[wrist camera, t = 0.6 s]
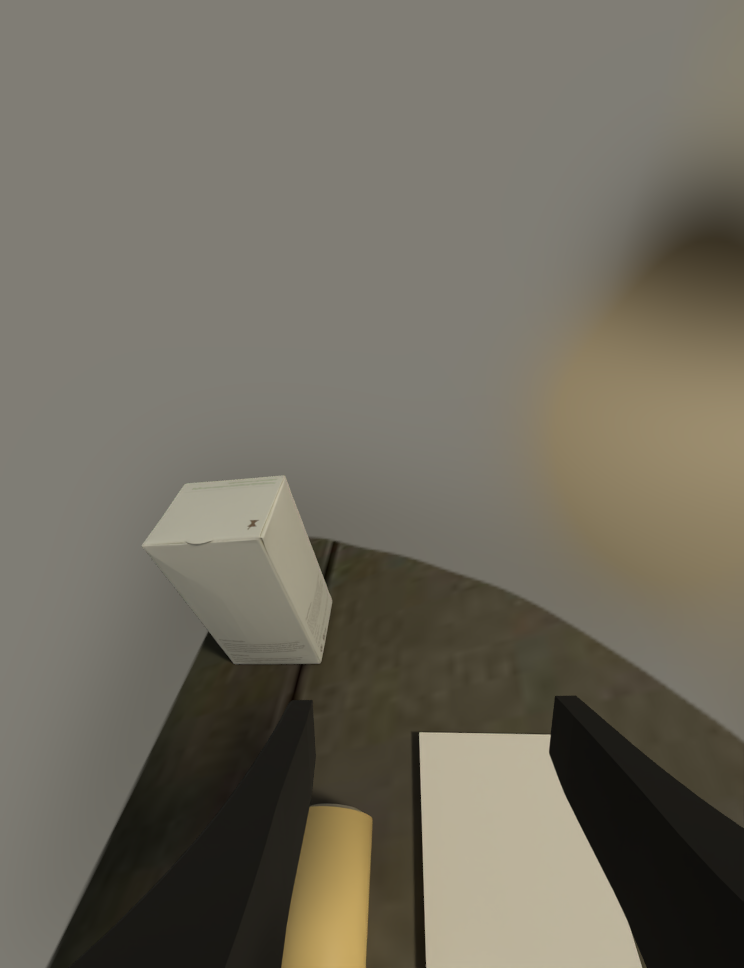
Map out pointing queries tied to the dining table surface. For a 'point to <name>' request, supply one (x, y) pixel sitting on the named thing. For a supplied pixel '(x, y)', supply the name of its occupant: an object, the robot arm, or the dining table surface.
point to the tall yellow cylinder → (330, 891)
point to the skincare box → (246, 569)
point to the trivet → (510, 862)
